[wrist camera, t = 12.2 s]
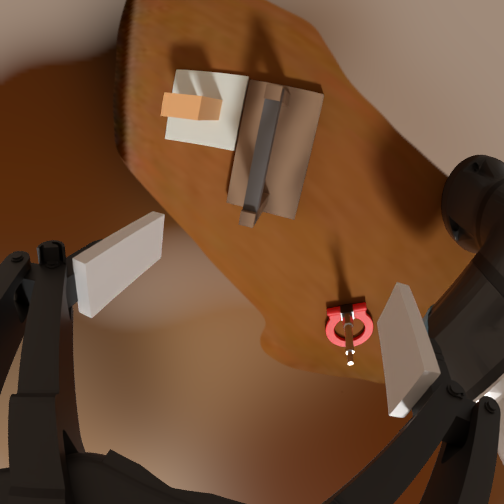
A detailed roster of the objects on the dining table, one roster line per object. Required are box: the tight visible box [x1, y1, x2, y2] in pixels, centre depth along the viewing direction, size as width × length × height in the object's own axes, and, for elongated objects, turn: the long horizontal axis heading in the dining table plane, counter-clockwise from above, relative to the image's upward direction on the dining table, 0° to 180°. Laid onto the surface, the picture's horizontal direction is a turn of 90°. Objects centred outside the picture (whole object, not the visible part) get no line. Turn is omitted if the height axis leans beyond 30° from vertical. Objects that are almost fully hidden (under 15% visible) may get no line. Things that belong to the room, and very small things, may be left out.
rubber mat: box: [165, 69, 249, 151], centre depth 39 cm, size 11×11×1 cm
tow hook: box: [326, 302, 373, 365], centre depth 44 cm, size 8×13×9 cm
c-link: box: [161, 93, 223, 120], centre depth 36 cm, size 5×3×8 cm, turn 79°
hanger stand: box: [227, 80, 324, 228], centre depth 35 cm, size 10×18×12 cm, turn 169°
